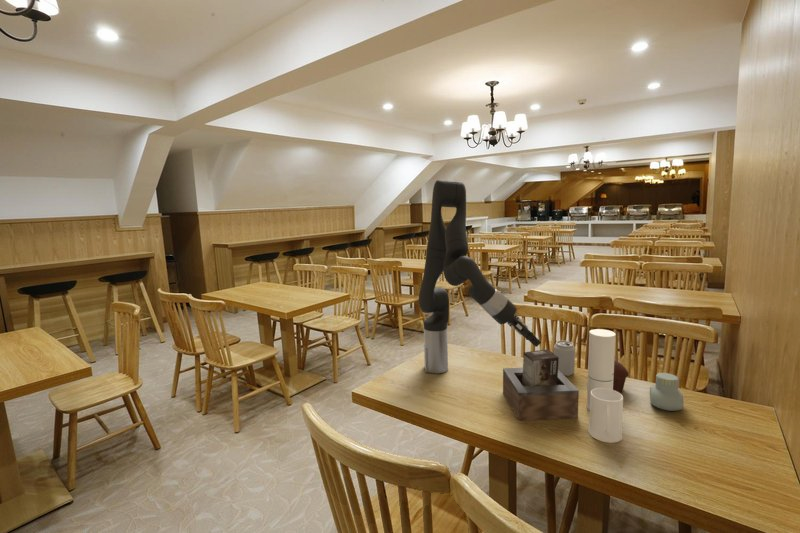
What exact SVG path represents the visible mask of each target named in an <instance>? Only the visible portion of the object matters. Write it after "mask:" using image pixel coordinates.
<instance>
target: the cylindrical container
mask: <svg viewBox="0 0 800 533" xmlns="http://www.w3.org/2000/svg"><path fill="white" fill-rule="evenodd" d="M588 333H589V334H588V335H589V336H588V337H589V339H588V359H587V361H588V362H587V389H586V390H587V392H586V408H587V410H588V411H589V412H590V395H591V390H593V389H595V388H607V389H612V390H613V377H614V360H615V353H616V352H615V351H616V333H615V332H614V331H612V330H609V329H602V328H596V329H590V330H589V332H588Z"/></svg>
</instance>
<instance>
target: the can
mask: <svg viewBox="0 0 800 533" xmlns="http://www.w3.org/2000/svg"><path fill="white" fill-rule="evenodd" d="M553 353H554V354H555V355H556V356H558V357H559V362H558V370H559V371H560V372H561V373H562V374H563V375H564V376H565V377H569V376H572V375H573V374H575V362H576V347H575V346H574V343H573V342H571V341H567V340H558V341H556V342H555V344H554V345H553Z"/></svg>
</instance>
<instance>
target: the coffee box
mask: <svg viewBox="0 0 800 533" xmlns="http://www.w3.org/2000/svg"><path fill="white" fill-rule="evenodd" d="M522 360H523V361H522V364H523V365H522V368H523V378H522V386H523V387H524V386H548V385H557V377H558V362H559V357H558V356H556V355H555V354H554V351H553V352H552V351H551V350H549V349H548V348H547V349H539V350H531V351H525V352H523V359H522Z"/></svg>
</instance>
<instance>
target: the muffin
mask: <svg viewBox="0 0 800 533" xmlns="http://www.w3.org/2000/svg"><path fill="white" fill-rule="evenodd" d="M629 373H630V372H629V371H628V369H627V368H626V367H625V366H624V365H623V364H622V363H621V362H619V361H618V360H615V359H614V377H613V390H615V391H617V392H619V393H620V394H623V391H624V387H625V383H626V379H627V377H629V376H630V374H629Z"/></svg>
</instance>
